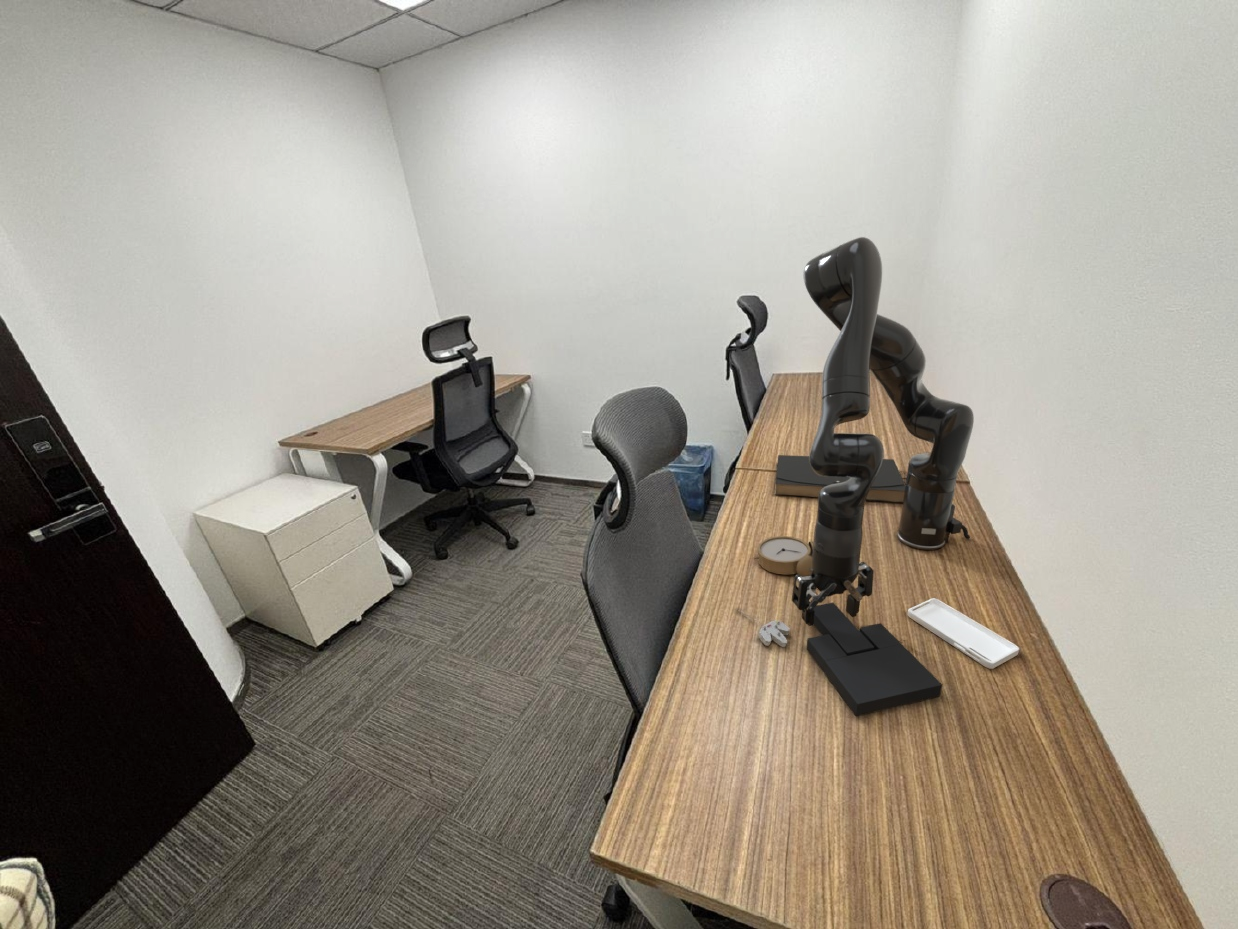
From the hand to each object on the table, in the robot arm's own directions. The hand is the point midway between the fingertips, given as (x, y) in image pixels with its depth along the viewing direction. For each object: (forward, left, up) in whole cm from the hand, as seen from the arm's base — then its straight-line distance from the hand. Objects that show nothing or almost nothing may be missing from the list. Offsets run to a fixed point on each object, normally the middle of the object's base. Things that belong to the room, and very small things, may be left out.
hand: (829, 618), depth 89 cm
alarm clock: (-3, -19, -2) cm, 20 cm away
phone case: (-20, +8, -2) cm, 21 cm away
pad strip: (0, +3, -1) cm, 3 cm away
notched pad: (0, +12, -1) cm, 12 cm away
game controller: (+12, -2, -2) cm, 12 cm away
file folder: (-35, -53, -2) cm, 64 cm away
